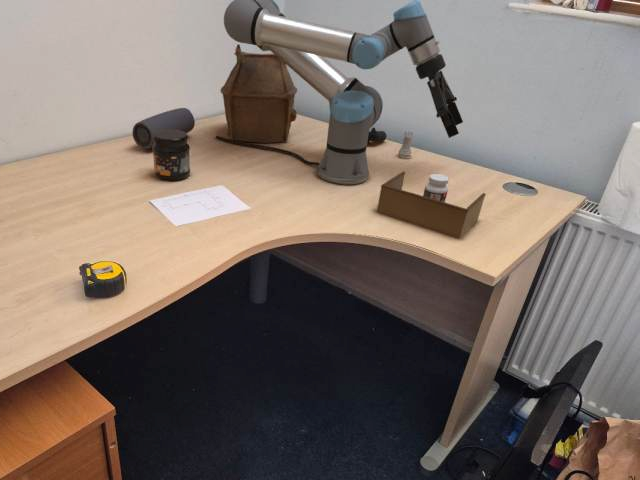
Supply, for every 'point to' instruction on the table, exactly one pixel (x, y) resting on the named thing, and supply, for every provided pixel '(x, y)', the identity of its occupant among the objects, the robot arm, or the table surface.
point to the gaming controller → (376, 136)
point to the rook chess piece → (406, 146)
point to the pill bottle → (437, 187)
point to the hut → (259, 98)
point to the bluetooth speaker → (162, 125)
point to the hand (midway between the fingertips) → (456, 129)
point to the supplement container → (171, 155)
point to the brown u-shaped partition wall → (427, 209)
